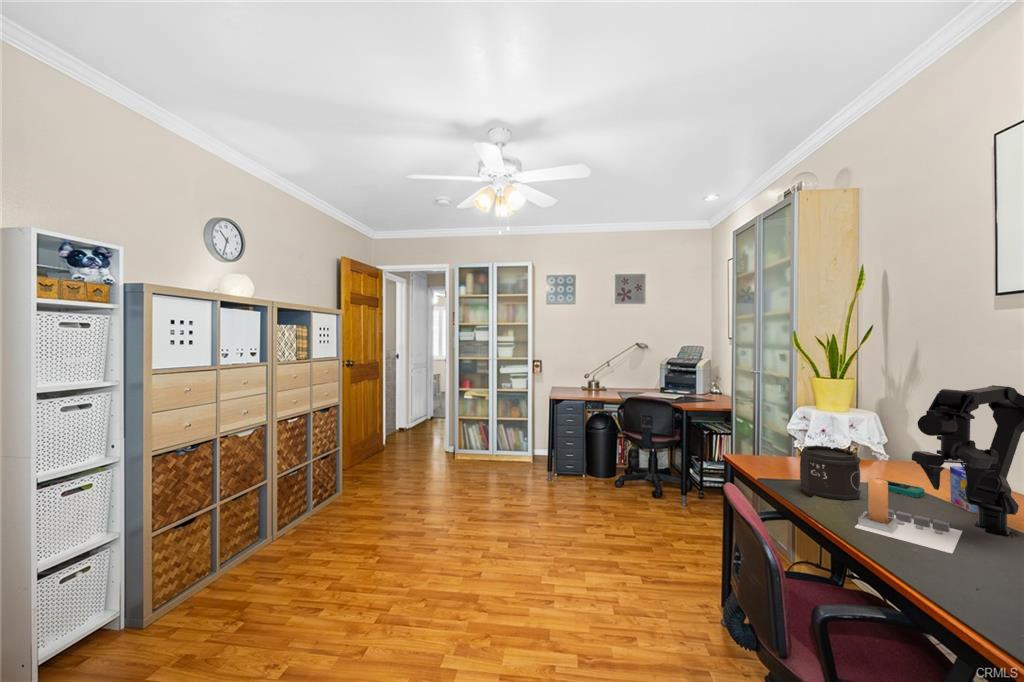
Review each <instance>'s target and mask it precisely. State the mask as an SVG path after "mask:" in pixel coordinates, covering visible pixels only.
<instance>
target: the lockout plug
mask: <svg viewBox="0 0 1024 682" xmlns="http://www.w3.org/2000/svg"><path fill="white" fill-rule="evenodd" d="M876 478H877V477H876ZM876 478H875V477H871V478H868V479H867V480H868V481H867V489H868V496H867V497H868V499H867V500H868V512H869V520H873V521H877V522H881V523H885V524H888V509H889V492H888V482H887V481H888V480H887V481H885V479H883V480H882V478H878V479H876Z"/></svg>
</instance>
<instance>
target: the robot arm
mask: <svg viewBox="0 0 1024 682" xmlns="http://www.w3.org/2000/svg"><path fill="white" fill-rule="evenodd" d="M987 404H988V405H987ZM980 405H987V406H988V407H989V408H990V409H991V411H992V418H993V419H994V422H995V424H996V430H995V432H994V434H993V438H992V441H991V444H990V447H989V448H986V449H979V448H977V447H976V442H975V440H971V420H975V419H976V417H975V415H974V414H972V413H971V412H973V411H976V410H978V409H979V408H980ZM925 411H926V412H925V414H923V415H922V416H920V418H919V419H918V421H917V423H916V424H917V427H918V429H919V431H920V432H921V433H922V434H924V435H926V436H930V437H932V436H933V437H934V436H935V437H936V440H939V441H940V449H937V450H936V453H934V452H930V451H922V450H919V451H918V450H914V452H912V454H911V461H914V462H916V464H917V465H919V466H920V467H921V469H922V470H923V471H924V473H925V475H926V476H927V478H928V480H929V482H930V484H931V486H932V487H933V489H934V490H936V491H939V490H940V487H941V473H942V471H943V470H945V467H943V465H944V464H945V463H948V464H960V463H964V467H965V473H966V479H967V484H966V487H965V492H966V496H967V499H968V503H969V504H973V505H976V506H978V513H977V521H976V523H975V525H974V526H975V527H977V528H981V529H984V530H985V532H990V533H994V534H999V535H1001V536H1002V535H1003V536H1007V537H1009V536H1010V531H1011V528H1010V527H1008V515H1013V516H1015V515H1017V513H1018V511H1019V507H1020V506H1019V504H1018V502H1017V501H1016V500H1015V499H1014V498H1013V496H1012V487H1011V486H1010V484H1009V481H1008V479H1007V478H1008V475H1009V471H1010V468H1011V465H1012V463H1013V460H1014V457H1015V455H1016V450H1017V449H1018V445H1019V442H1020V439H1021V437H1022V433H1024V395H1023V394H1021V393H1019V392H1018V391H1017V389H1015V388H1014V387H1011V386H1005V385H1004V386H1002V385H994V384H993V385H989V386H986V387H979V388H974V389H973V388H972V389H967V390H958V389H949V388H942V389H940V390H939V391H938V393H937V394H936V395H935V397H934V399H933V401H932V402H931V404H930V406H929V408H928V410H925Z"/></svg>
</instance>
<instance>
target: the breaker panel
mask: <svg viewBox="0 0 1024 682" xmlns="http://www.w3.org/2000/svg"><path fill="white" fill-rule="evenodd" d="M912 515H913V514H912V513H908V512H904V511H900V510H899V511H898V510H897V511H896V512H895V510H894V509H890V508H888V517H892V518H896V519H898V527H897V528H896V529H895V531H894V532H893V533H889V532H885V531H881V530H877V529H874V528H870V527H866V526H862V525H858V523H857V524H856V525H855V526H854V528H855V529H858V530H863V531H866V532H871V533H873V534H877V535H881V536H884V537H889V538H893V539H896V540H900V541H904V542H907V543H910V544H914V545H919V546H922V547H926V548H929V549H933V550H937V551H941V552H944V553H948V554H953V553H954V551H955V549H956V548H957V544H958V542H959V540H960V538H961V535H962V533H963V530H960V529H955V528H952V527H950V525H951V524H950V522H947V521H943V520H939V519H936V518H935V519H934V518H933V520H932V523H931V518H930V517H925V516H921V515H917V514H915V515H914V516H913V518H912Z"/></svg>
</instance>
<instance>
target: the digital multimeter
mask: <svg viewBox="0 0 1024 682" xmlns="http://www.w3.org/2000/svg"><path fill="white" fill-rule="evenodd" d="M876 479H879V478H877V477H876ZM881 479H882V478H881ZM882 480H885V479H882ZM885 481H887V482H888V491H891V492H890V493H892V492H895V493H894V494H897V493H898V495H901V494H903V495H902V496H905V495H907V496H906V497H909V496H911V497H910V498H914V497H916V498H915V499H920V498H921V497H923V496H925V488H923V487H920V486H915V485H911V484H910V485H909V484H904V483H900V482H896V481H892V480H891V481H890V480H887V479H886V480H885ZM919 497H920V498H919Z"/></svg>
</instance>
